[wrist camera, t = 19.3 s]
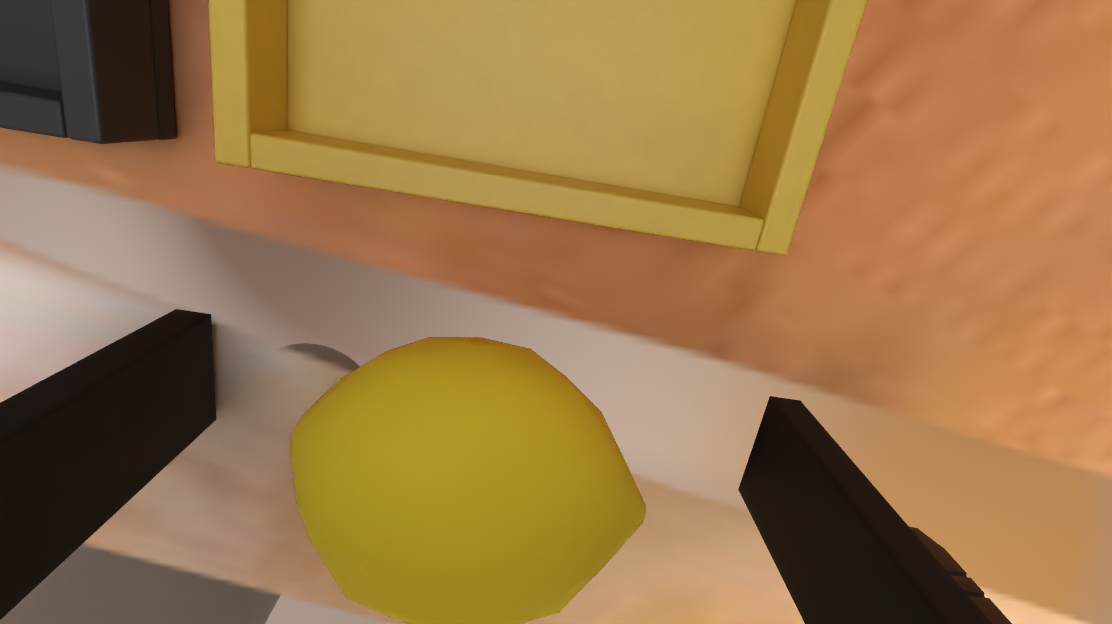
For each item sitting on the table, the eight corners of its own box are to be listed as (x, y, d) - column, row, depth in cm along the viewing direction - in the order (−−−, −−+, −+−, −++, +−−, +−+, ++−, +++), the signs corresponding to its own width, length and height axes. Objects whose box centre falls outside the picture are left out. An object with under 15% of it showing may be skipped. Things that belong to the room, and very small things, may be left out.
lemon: (323, 462, 14) (193, 666, 9) (364, 261, 12) (229, 370, 7) (588, 526, 15) (611, 748, 9) (662, 347, 13) (738, 501, 8)
